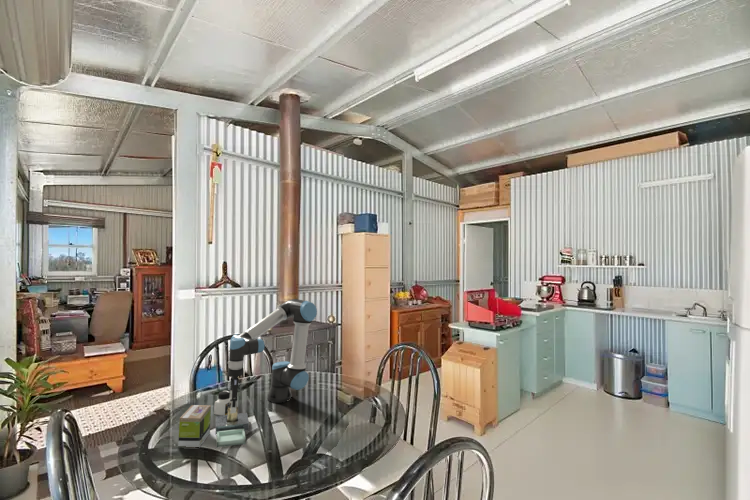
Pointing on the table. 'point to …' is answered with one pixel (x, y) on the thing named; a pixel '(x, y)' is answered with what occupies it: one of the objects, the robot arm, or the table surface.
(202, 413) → the tea box
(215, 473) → the table surface
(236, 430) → the parts tray
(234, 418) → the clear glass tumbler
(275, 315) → the robot arm
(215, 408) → the medicine bottle
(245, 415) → the grey rectangular slab
